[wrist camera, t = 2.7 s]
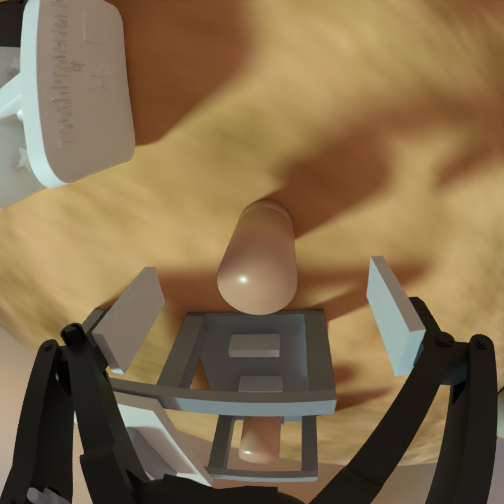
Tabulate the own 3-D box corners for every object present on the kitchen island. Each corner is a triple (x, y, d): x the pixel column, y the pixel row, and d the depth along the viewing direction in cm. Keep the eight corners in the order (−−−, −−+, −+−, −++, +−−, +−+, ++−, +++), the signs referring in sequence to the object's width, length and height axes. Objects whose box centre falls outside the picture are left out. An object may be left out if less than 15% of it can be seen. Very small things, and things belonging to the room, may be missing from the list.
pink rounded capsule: (235, 202, 23) (210, 248, 15) (291, 198, 23) (295, 243, 15) (242, 252, 25) (223, 315, 17) (294, 249, 25) (298, 313, 17)
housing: (94, 308, 31) (47, 369, 21) (323, 308, 27) (336, 399, 17) (148, 407, 40) (127, 459, 30) (314, 416, 36) (316, 480, 26)
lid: (44, 371, 21) (25, 399, 17) (157, 399, 19) (141, 442, 15) (123, 459, 30) (115, 481, 26) (213, 479, 28) (207, 504, 24)
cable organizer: (49, 51, 17) (-34, 48, 7) (131, 8, 16) (49, -31, 6) (64, 179, 24) (-19, 220, 14) (148, 157, 22) (59, 192, 12)
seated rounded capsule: (245, 388, 33) (235, 448, 25) (281, 388, 33) (278, 450, 25) (249, 406, 35) (241, 462, 27) (282, 407, 35) (279, 463, 27)
